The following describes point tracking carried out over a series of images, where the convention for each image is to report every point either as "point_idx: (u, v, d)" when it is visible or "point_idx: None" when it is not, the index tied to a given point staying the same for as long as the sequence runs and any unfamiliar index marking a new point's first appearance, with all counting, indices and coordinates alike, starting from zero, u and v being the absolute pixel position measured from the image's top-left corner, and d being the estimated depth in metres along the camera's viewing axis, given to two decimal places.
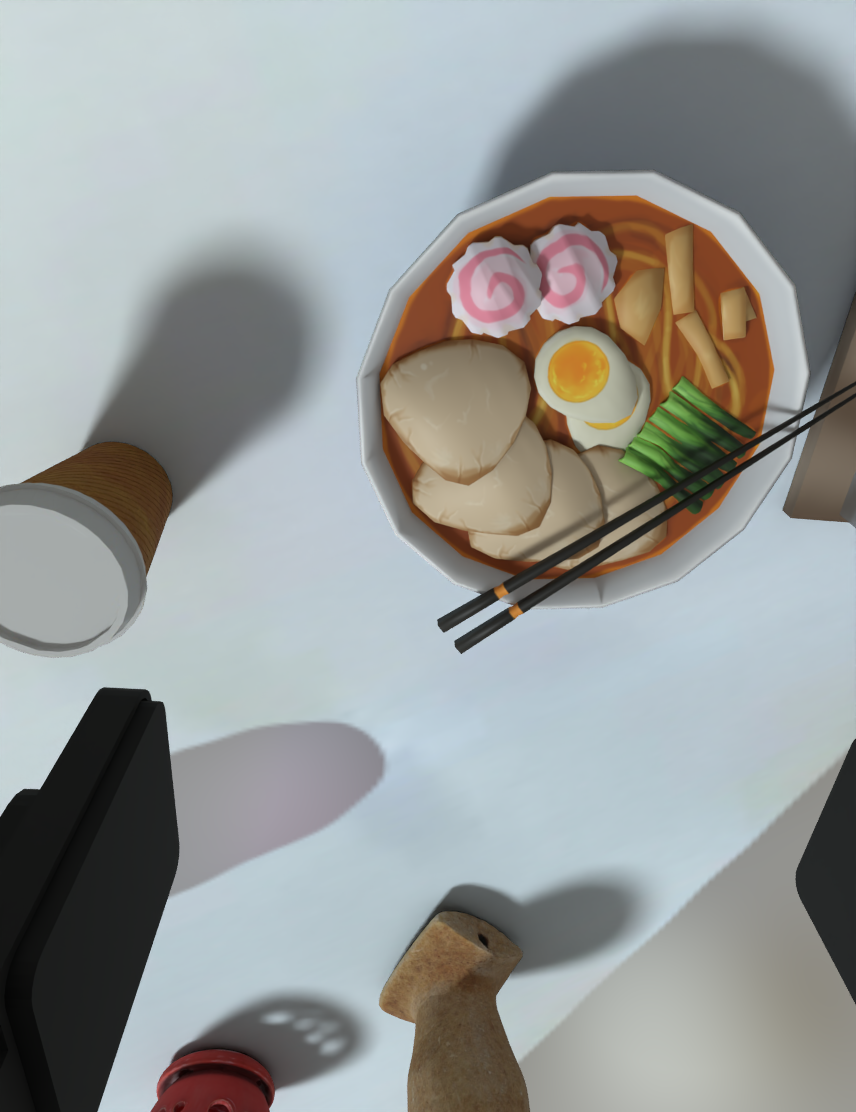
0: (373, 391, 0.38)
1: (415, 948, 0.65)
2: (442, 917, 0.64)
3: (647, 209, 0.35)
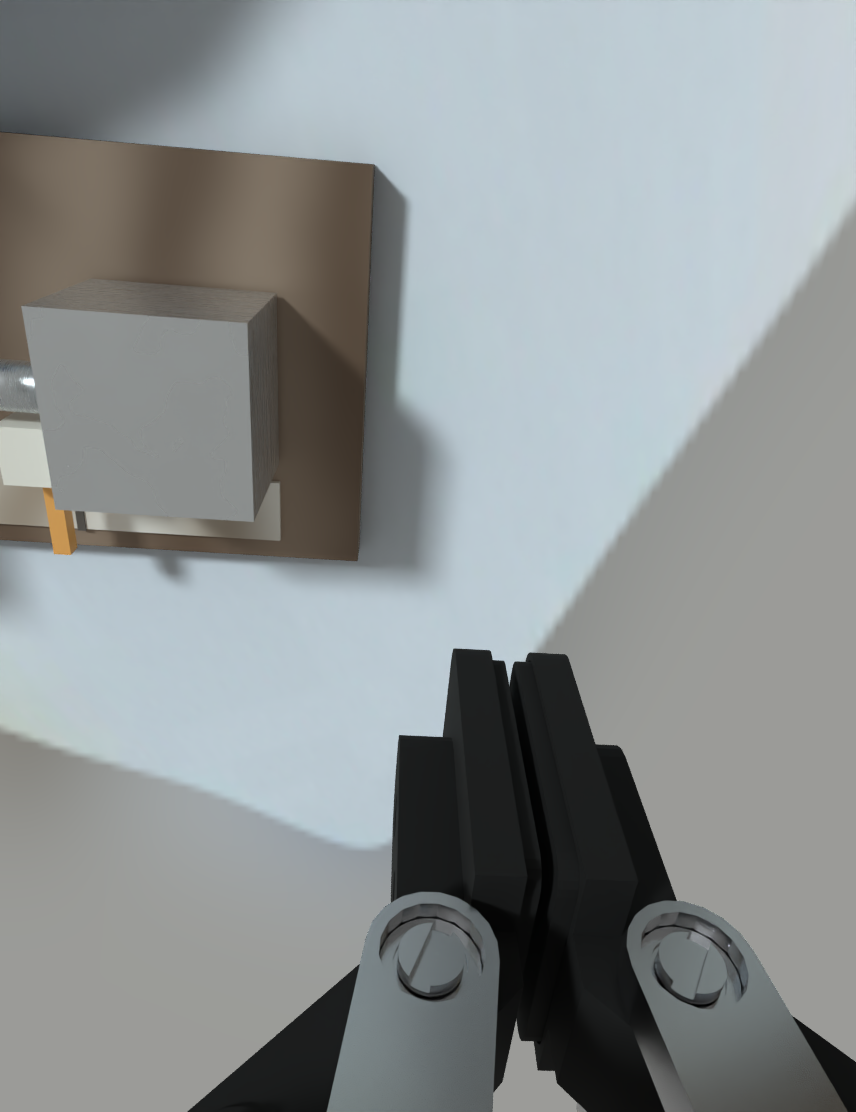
0: None
1: None
2: None
3: None
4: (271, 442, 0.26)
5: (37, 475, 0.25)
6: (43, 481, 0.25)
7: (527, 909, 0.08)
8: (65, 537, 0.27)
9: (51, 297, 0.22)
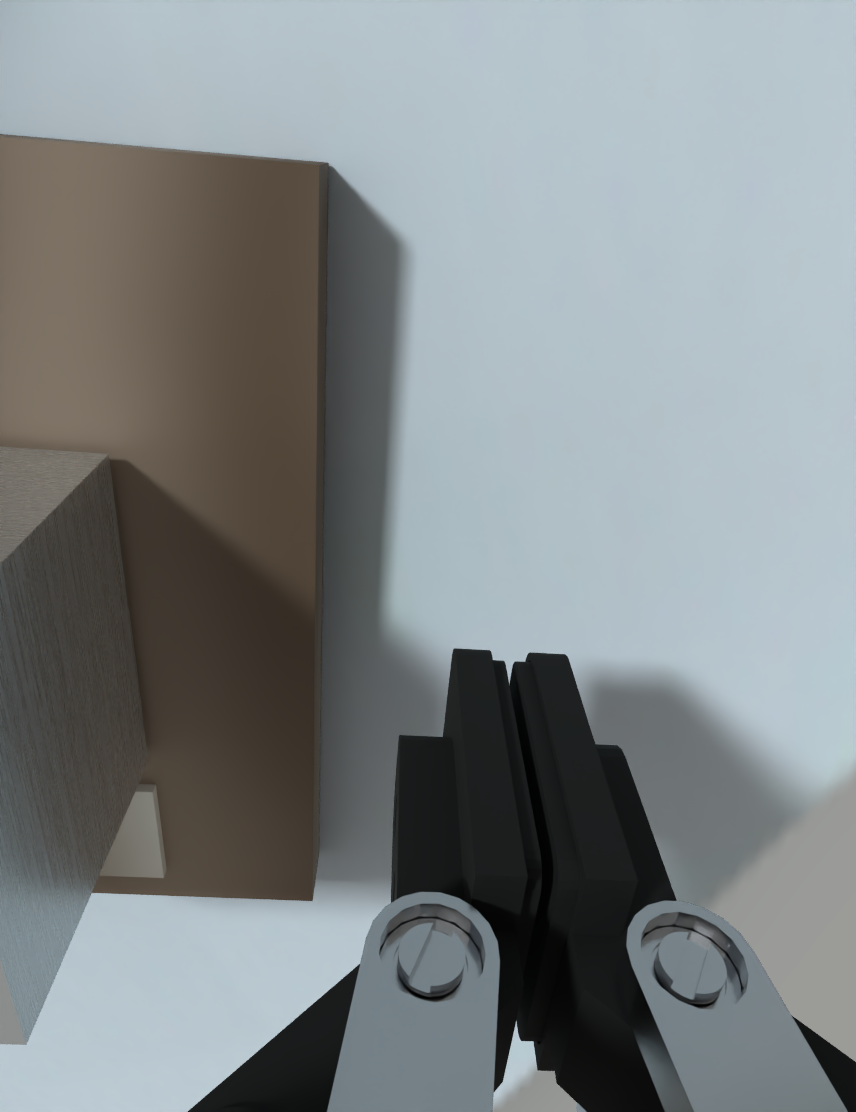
0: None
1: None
2: None
3: None
4: (110, 766, 0.12)
5: None
6: None
7: (527, 909, 0.08)
8: None
9: None
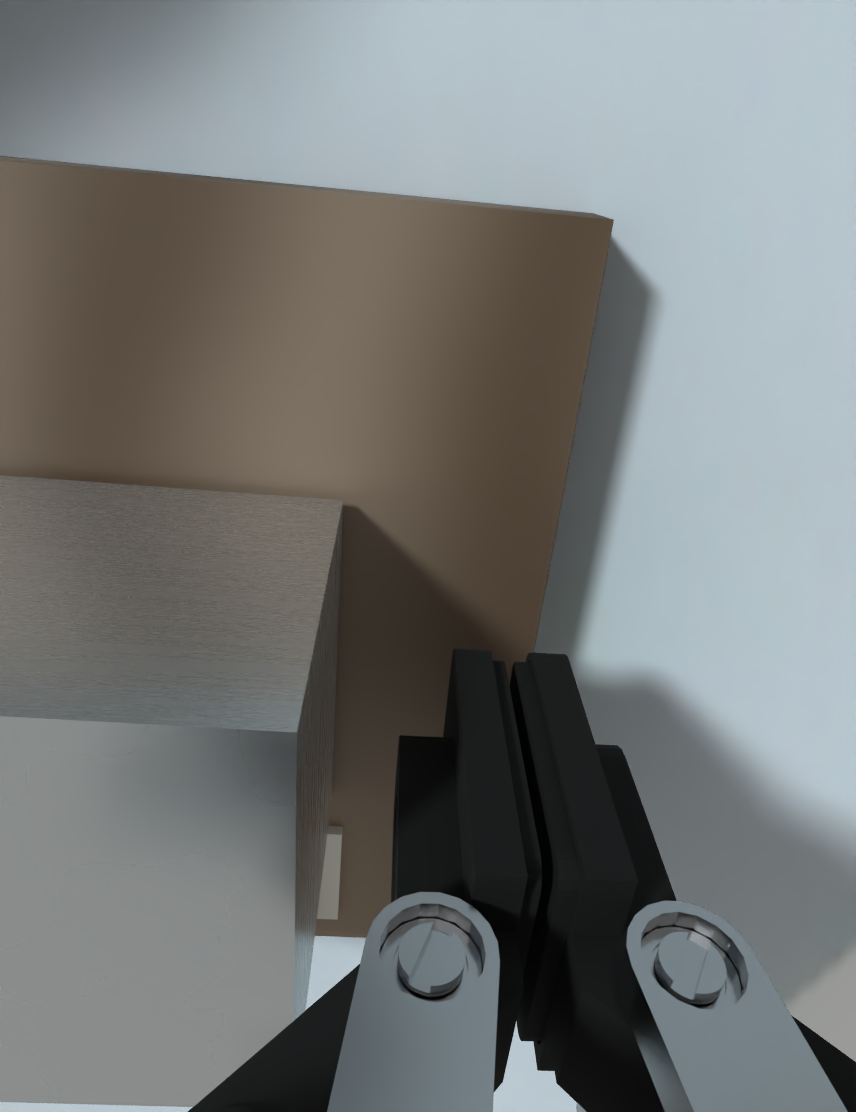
0: None
1: None
2: None
3: None
4: (324, 814, 0.12)
5: None
6: None
7: (527, 909, 0.08)
8: None
9: None
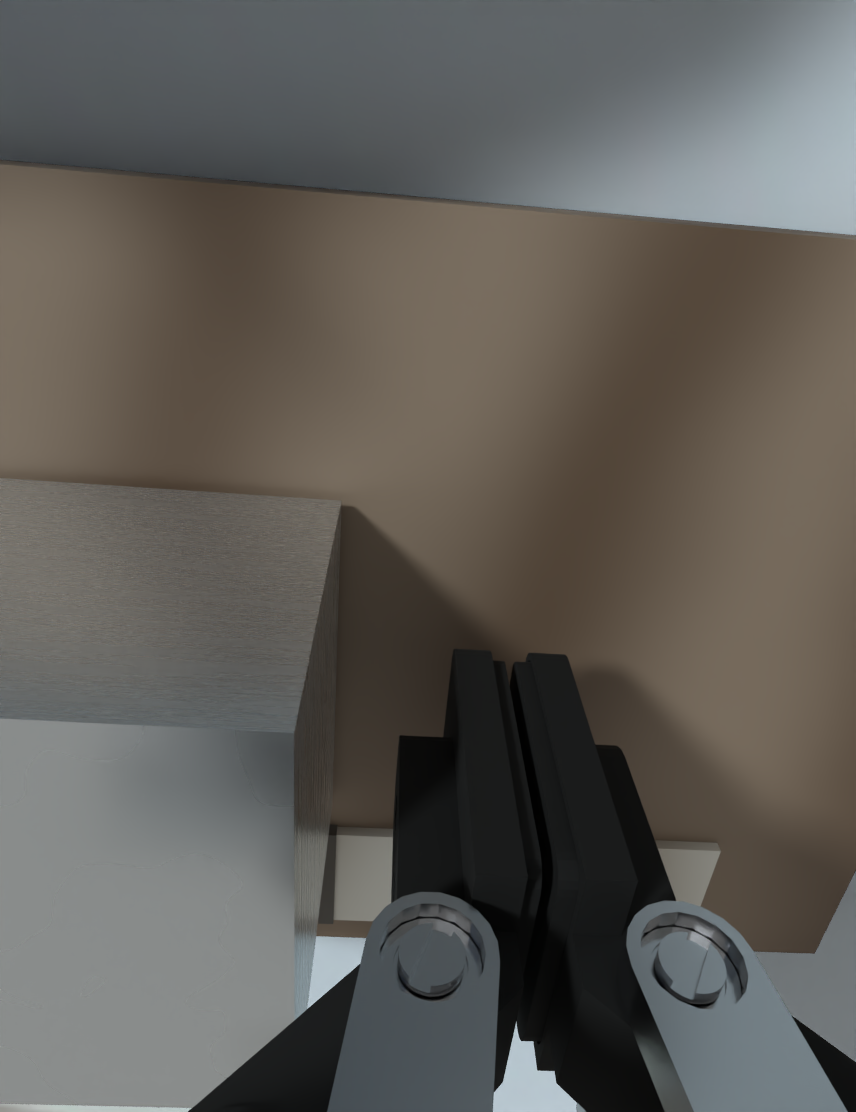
0: None
1: None
2: None
3: None
4: (325, 815, 0.12)
5: None
6: None
7: (527, 909, 0.08)
8: None
9: None
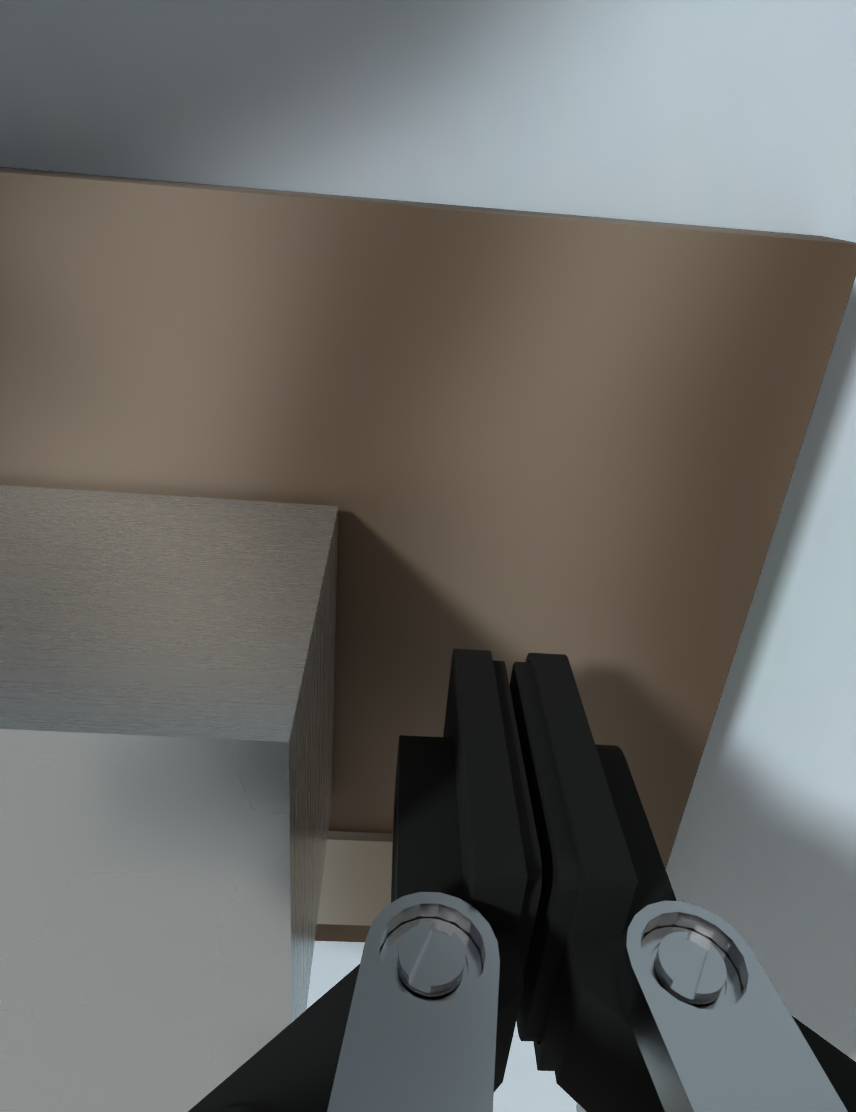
0: None
1: None
2: None
3: None
4: (323, 820, 0.12)
5: None
6: None
7: (527, 909, 0.08)
8: None
9: None
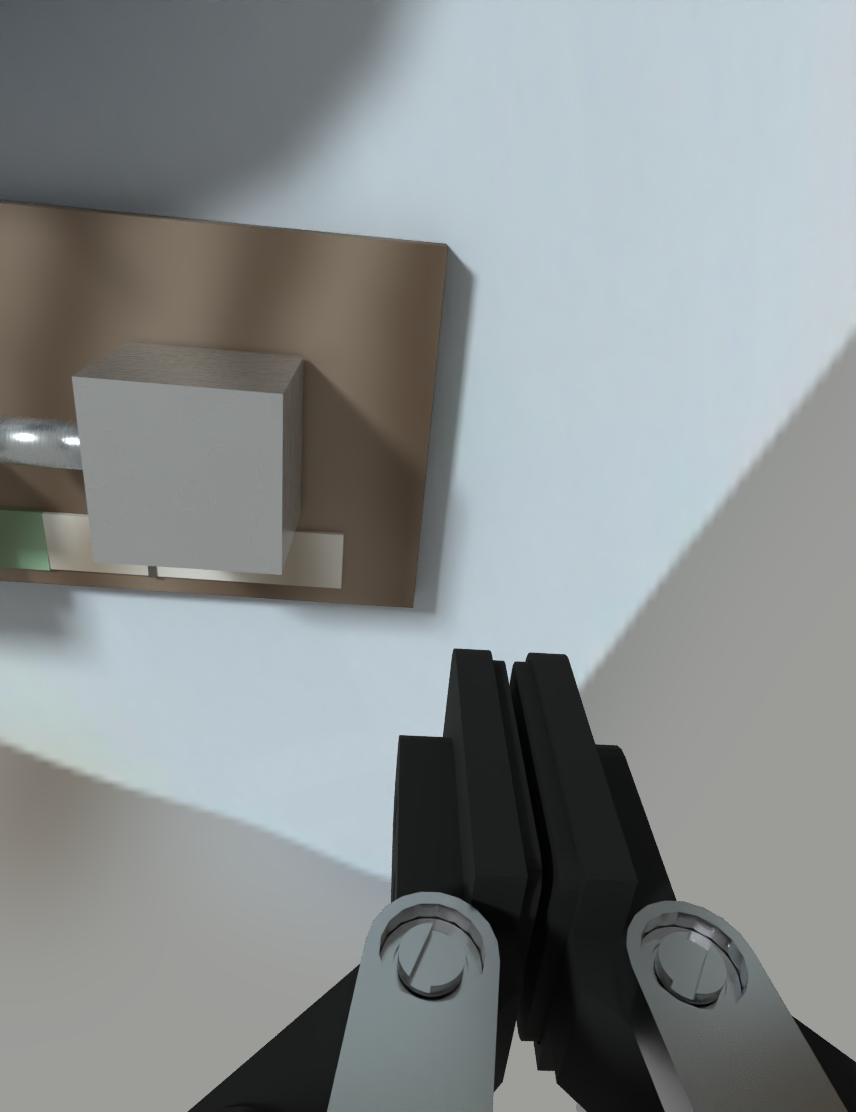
0: None
1: None
2: None
3: None
4: (296, 496, 0.27)
5: None
6: None
7: (527, 909, 0.08)
8: None
9: (97, 365, 0.23)
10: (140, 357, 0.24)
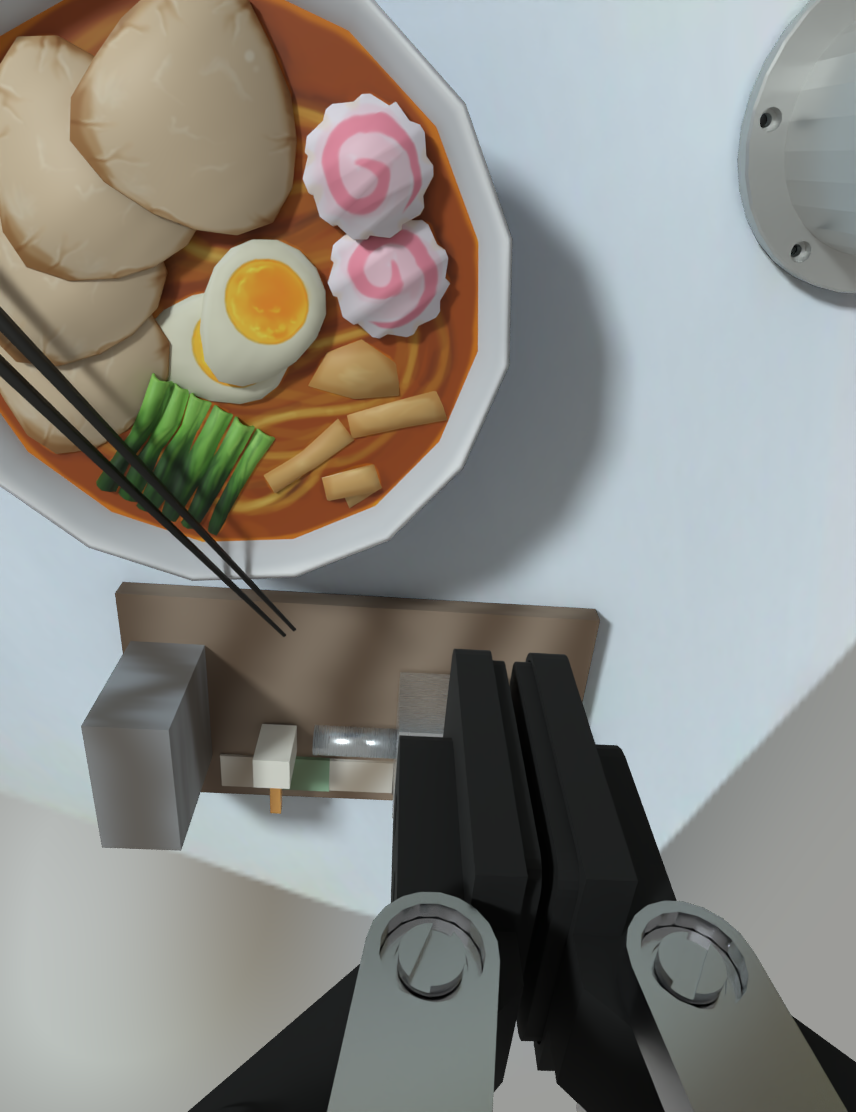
0: None
1: None
2: None
3: (462, 366, 0.30)
4: None
5: (274, 782, 0.42)
6: (277, 785, 0.42)
7: (527, 909, 0.08)
8: (278, 804, 0.44)
9: (402, 713, 0.39)
10: (419, 696, 0.41)
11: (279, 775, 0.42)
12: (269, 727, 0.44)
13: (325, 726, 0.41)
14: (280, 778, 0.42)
